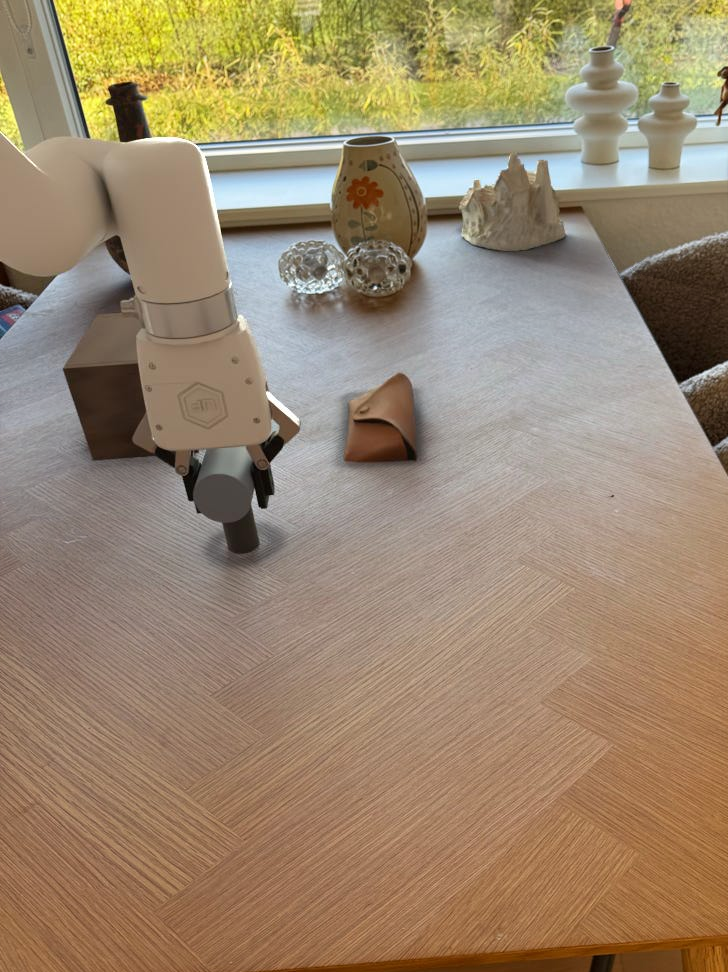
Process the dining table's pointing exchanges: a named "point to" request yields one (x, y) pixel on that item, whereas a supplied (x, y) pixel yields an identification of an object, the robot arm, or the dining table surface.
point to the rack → (108, 386)
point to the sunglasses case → (382, 424)
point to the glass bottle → (126, 139)
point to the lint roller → (228, 495)
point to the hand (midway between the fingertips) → (233, 501)
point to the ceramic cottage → (513, 209)
